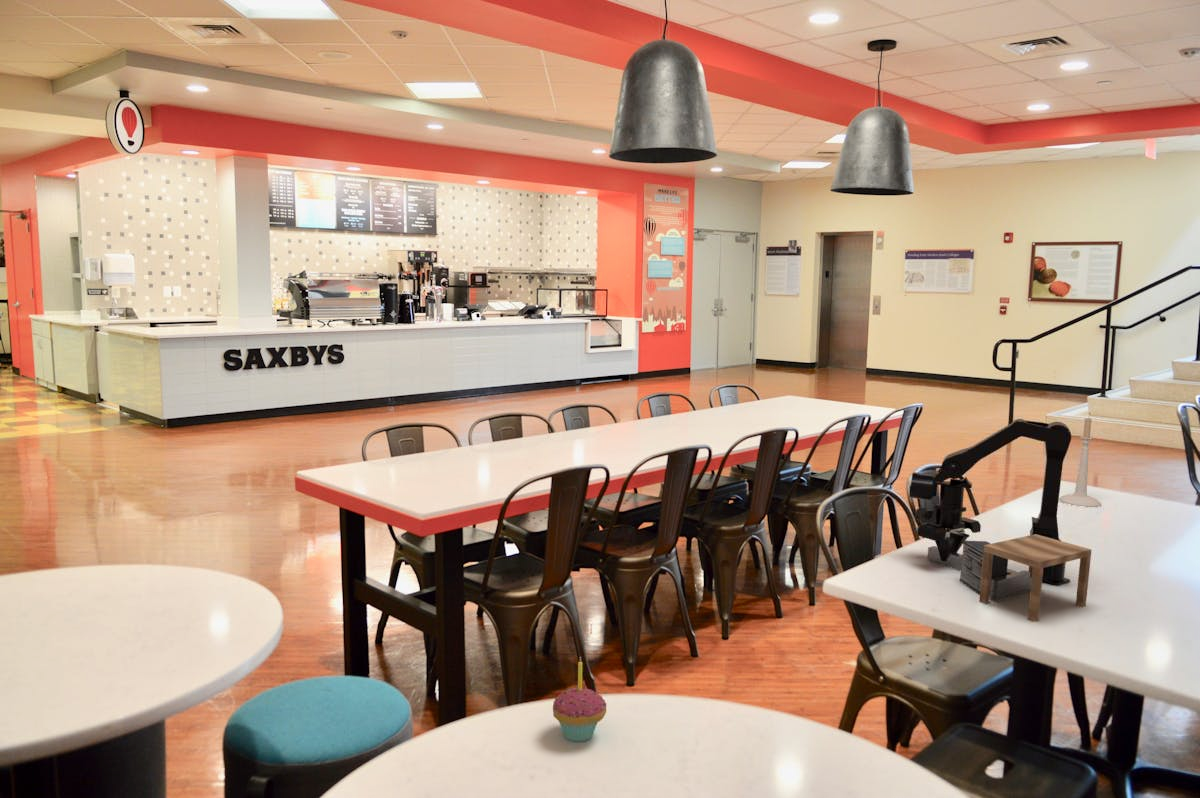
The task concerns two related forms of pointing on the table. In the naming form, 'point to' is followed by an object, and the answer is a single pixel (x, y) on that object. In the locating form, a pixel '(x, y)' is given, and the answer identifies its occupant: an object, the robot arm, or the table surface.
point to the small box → (979, 564)
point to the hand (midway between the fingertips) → (946, 560)
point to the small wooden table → (1036, 565)
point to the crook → (1000, 586)
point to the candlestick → (1082, 475)
